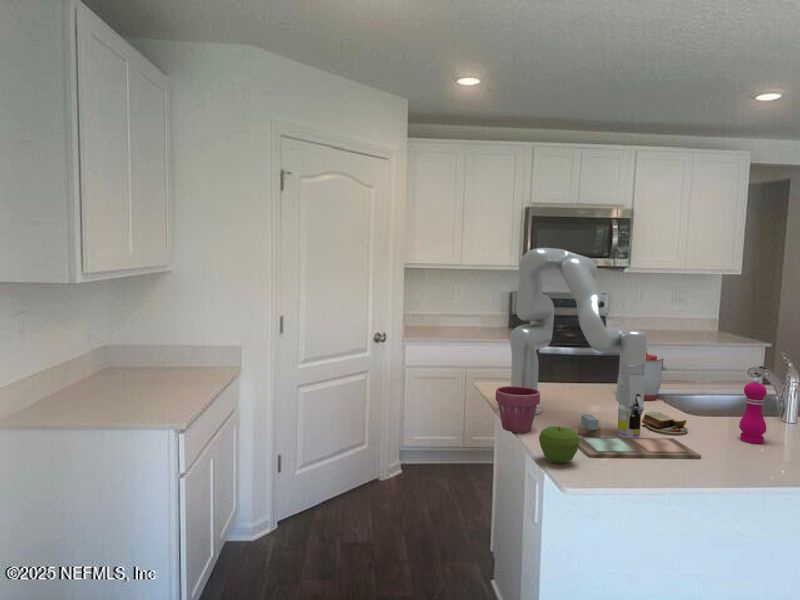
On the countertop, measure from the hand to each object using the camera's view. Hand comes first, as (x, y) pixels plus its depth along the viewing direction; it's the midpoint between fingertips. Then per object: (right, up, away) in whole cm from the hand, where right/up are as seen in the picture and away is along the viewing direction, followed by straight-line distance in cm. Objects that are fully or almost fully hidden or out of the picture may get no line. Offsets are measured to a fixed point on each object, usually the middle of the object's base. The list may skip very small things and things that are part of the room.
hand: (629, 425), depth 177 cm
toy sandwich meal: (+15, -4, +9) cm, 18 cm away
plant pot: (-34, -3, +6) cm, 35 cm away
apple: (-29, -5, -24) cm, 38 cm away
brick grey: (-12, -1, +1) cm, 12 cm away
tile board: (-4, -4, -12) cm, 13 cm away
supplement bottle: (0, -4, 0) cm, 4 cm away
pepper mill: (+38, -5, -1) cm, 38 cm away
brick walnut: (-12, -4, +1) cm, 13 cm away
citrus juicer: (+27, -1, +54) cm, 60 cm away
